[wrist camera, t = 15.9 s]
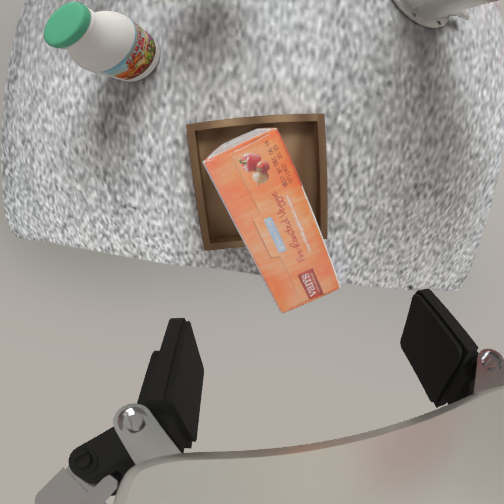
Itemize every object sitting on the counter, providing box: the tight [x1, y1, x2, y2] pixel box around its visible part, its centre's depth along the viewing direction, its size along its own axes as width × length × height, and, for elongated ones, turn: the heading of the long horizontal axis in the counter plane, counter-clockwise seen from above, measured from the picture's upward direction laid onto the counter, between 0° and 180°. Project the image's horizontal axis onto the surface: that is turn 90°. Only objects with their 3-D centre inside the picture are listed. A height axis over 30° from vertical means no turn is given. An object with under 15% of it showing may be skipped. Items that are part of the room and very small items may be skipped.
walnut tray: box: [186, 114, 327, 251], centre depth 39 cm, size 18×18×3 cm
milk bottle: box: [44, 2, 160, 82], centre depth 22 cm, size 8×8×20 cm
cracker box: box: [203, 128, 341, 313], centre depth 30 cm, size 14×6×21 cm, turn 25°
